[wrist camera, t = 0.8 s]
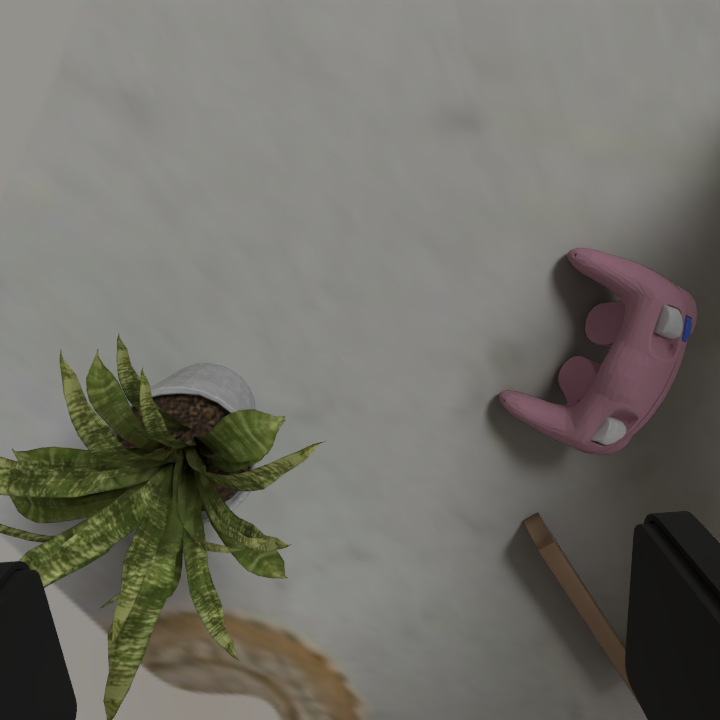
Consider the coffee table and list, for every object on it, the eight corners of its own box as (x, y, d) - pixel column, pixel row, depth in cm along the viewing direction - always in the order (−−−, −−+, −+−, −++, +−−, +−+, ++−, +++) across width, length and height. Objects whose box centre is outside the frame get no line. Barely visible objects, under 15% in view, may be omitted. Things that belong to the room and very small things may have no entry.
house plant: (220, 200, 31) (100, 241, 16) (397, 394, 35) (443, 585, 19) (32, 378, 34) (-232, 565, 18) (214, 542, 37) (123, 817, 22)
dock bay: (771, 381, 35) (809, 401, 32) (850, 551, 39) (891, 582, 36) (523, 520, 37) (538, 550, 34) (619, 668, 41) (640, 706, 38)
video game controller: (540, 413, 37) (633, 480, 31) (486, 403, 34) (577, 475, 29) (619, 257, 34) (736, 302, 29) (566, 235, 32) (683, 279, 26)
